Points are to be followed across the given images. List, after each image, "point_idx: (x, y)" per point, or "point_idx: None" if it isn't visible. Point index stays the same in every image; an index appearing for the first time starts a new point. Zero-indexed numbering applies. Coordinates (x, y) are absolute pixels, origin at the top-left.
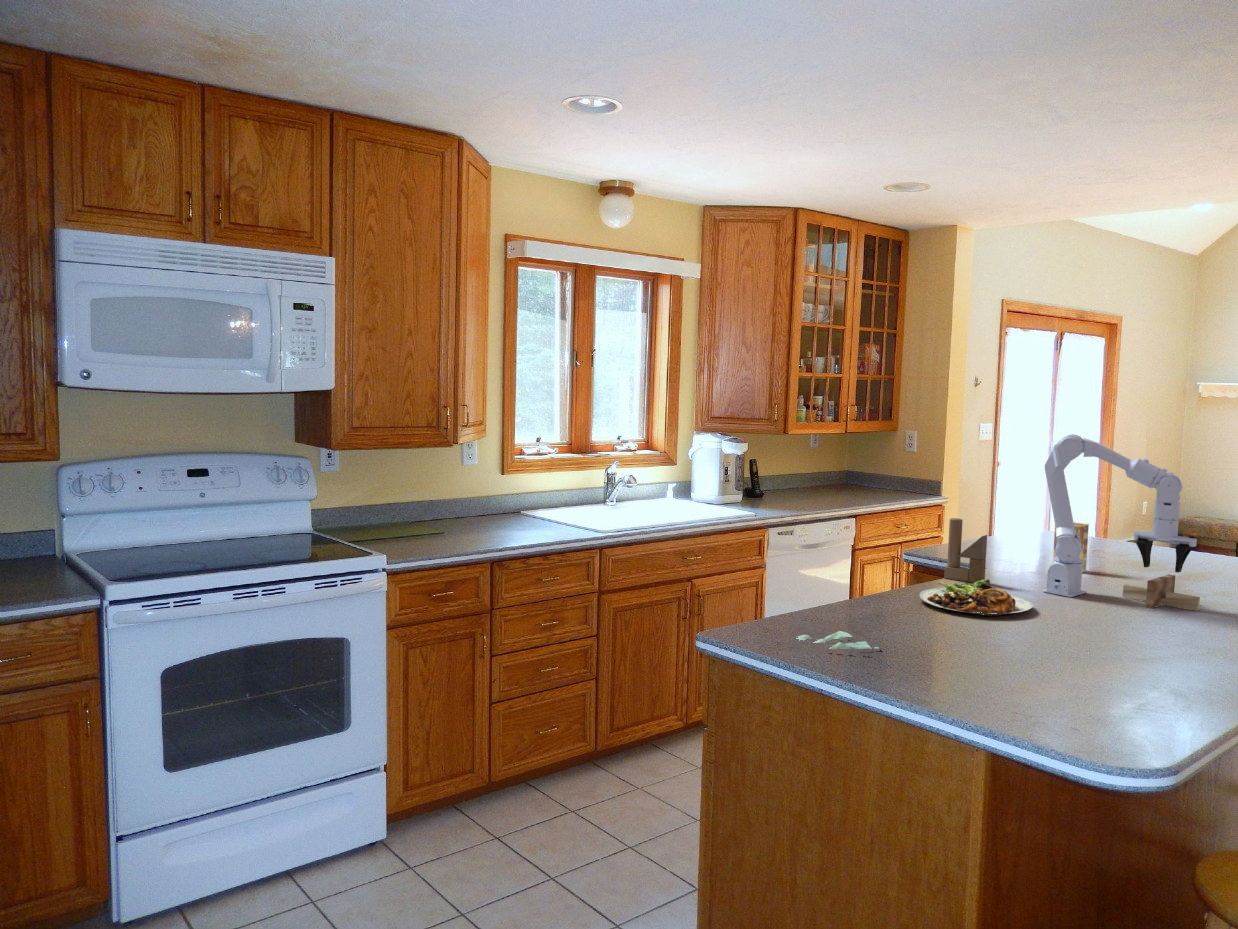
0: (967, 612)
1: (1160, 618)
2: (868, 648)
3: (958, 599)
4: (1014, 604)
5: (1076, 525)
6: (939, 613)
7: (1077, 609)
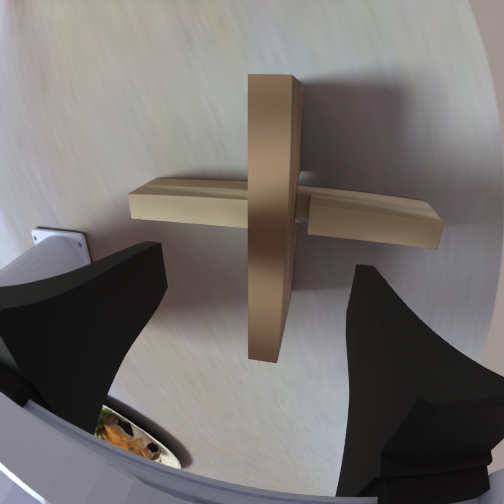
0: None
1: (342, 382)
2: None
3: None
4: (156, 455)
5: None
6: None
7: (185, 401)
